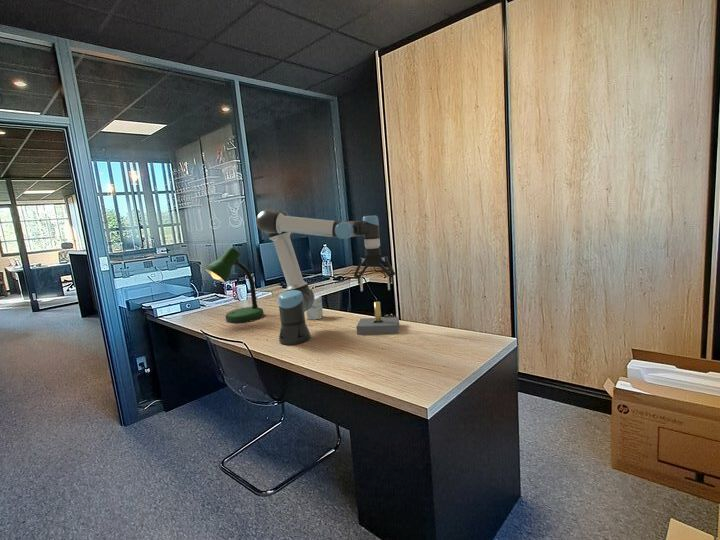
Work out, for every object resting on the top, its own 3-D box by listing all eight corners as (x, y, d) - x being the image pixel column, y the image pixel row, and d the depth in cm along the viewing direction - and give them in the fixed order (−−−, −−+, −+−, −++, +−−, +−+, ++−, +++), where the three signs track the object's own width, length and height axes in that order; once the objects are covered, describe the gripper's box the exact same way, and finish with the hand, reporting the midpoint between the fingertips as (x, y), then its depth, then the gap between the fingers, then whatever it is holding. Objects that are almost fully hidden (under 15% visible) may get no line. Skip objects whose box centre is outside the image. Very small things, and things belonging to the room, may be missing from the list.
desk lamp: (221, 328, 213) (210, 250, 206) (207, 322, 230) (196, 249, 223) (270, 316, 233) (261, 244, 226) (253, 311, 250) (245, 244, 243)
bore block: (398, 333, 180) (397, 325, 179) (357, 334, 183) (356, 326, 182) (399, 324, 193) (398, 317, 193) (361, 325, 196) (360, 318, 196)
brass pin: (381, 330, 186) (379, 302, 184) (375, 330, 187) (373, 303, 185) (382, 328, 189) (380, 301, 187) (376, 328, 190) (374, 301, 188)
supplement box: (306, 319, 217) (304, 298, 215) (312, 316, 224) (310, 295, 222) (318, 319, 215) (316, 298, 213) (323, 316, 222) (321, 295, 220)
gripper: (398, 245, 184) (400, 287, 187) (348, 248, 188) (351, 289, 191) (397, 246, 177) (400, 290, 180) (346, 249, 180) (349, 292, 183)
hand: (375, 290), depth 185 cm, fingers open, 13 cm apart
